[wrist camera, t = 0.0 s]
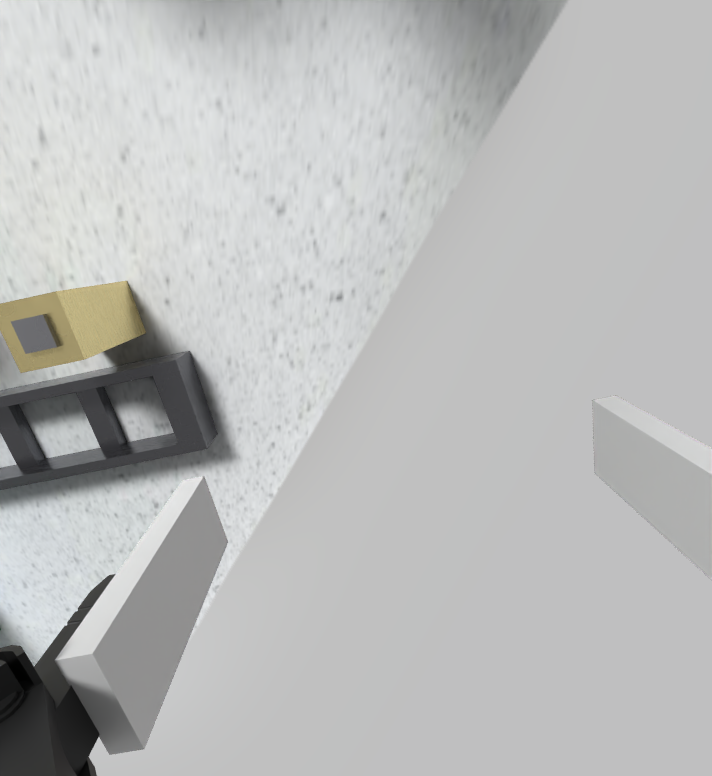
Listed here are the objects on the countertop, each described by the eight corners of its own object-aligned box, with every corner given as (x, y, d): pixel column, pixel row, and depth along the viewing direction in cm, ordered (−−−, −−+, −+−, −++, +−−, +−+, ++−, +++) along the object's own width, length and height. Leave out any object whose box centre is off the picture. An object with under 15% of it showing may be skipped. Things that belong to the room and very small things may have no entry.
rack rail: (-97, 411, 43) (-135, 424, 39) (189, 350, 41) (175, 359, 38) (-52, 487, 45) (-84, 506, 42) (217, 433, 44) (207, 448, 41)
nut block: (75, 292, 39) (-16, 307, 30) (126, 280, 39) (52, 292, 29) (96, 343, 41) (16, 374, 31) (146, 333, 41) (81, 360, 31)
